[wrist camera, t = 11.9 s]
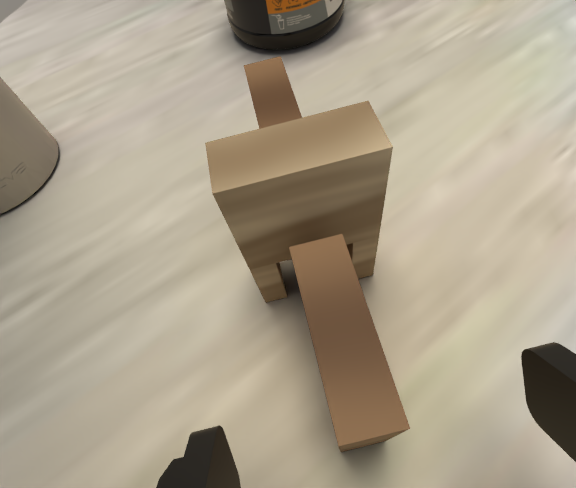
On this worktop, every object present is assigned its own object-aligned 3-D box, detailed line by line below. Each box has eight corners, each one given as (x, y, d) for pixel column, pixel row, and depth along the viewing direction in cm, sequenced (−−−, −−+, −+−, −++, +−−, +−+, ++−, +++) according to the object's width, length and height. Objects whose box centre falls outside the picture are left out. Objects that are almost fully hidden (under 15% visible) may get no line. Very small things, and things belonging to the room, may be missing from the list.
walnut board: (385, 440, 16) (409, 428, 10) (340, 452, 16) (338, 446, 10) (295, 151, 25) (280, 56, 19) (267, 158, 25) (243, 65, 19)
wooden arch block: (372, 274, 20) (392, 147, 12) (266, 302, 20) (212, 193, 12) (359, 238, 21) (368, 100, 13) (258, 264, 21) (205, 142, 13)
